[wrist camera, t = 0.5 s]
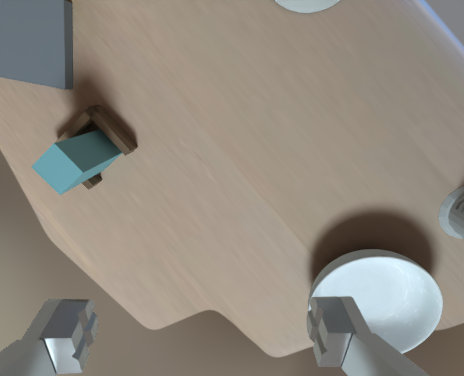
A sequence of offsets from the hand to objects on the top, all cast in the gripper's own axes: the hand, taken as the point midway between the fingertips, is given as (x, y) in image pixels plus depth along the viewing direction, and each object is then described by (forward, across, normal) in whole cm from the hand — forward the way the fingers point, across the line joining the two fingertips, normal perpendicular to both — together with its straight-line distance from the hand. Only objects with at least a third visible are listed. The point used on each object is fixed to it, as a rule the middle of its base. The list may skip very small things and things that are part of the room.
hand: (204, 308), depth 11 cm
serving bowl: (+31, -28, +31) cm, 52 cm away
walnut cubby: (+41, +18, +9) cm, 46 cm away
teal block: (+41, +18, +9) cm, 46 cm away
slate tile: (+44, +27, -7) cm, 52 cm away
